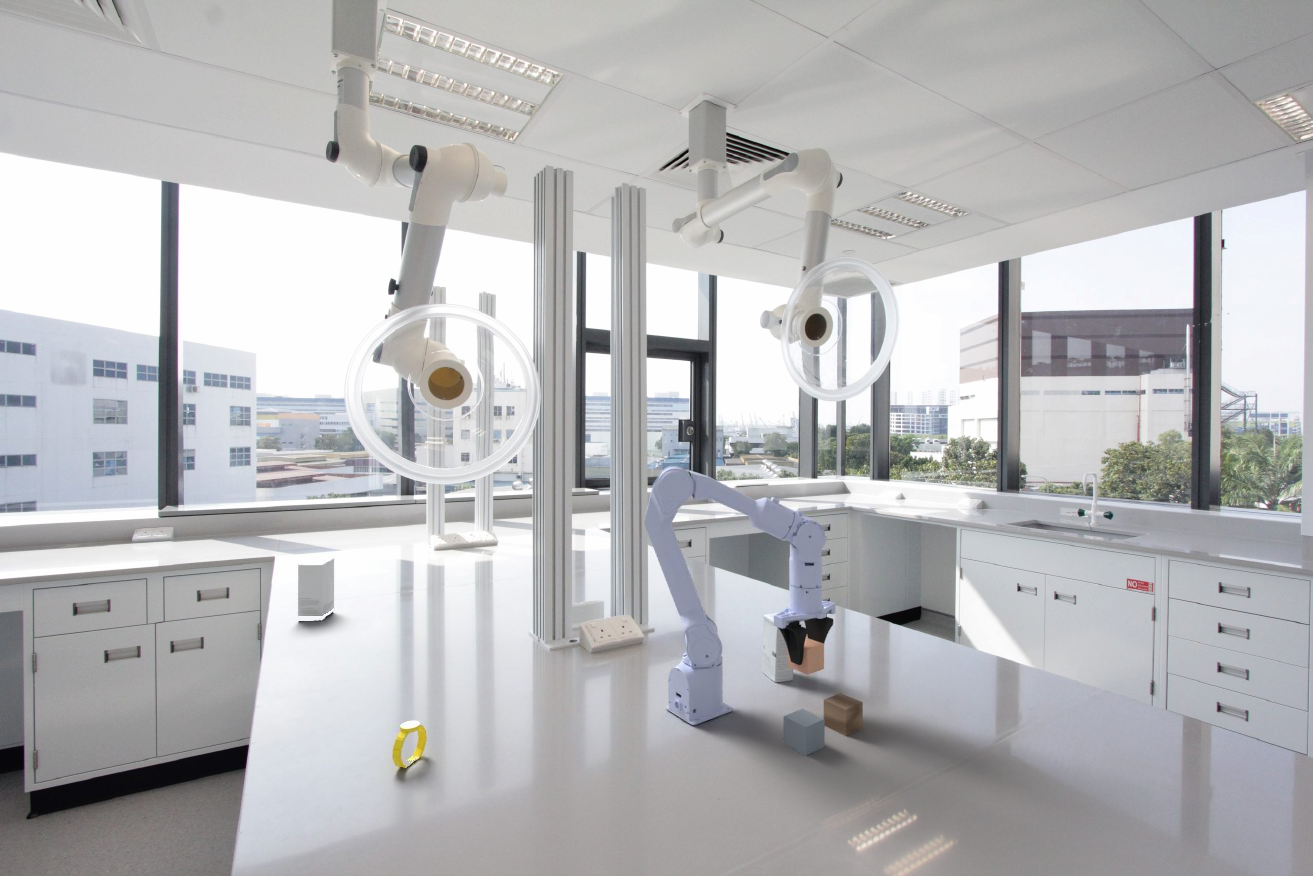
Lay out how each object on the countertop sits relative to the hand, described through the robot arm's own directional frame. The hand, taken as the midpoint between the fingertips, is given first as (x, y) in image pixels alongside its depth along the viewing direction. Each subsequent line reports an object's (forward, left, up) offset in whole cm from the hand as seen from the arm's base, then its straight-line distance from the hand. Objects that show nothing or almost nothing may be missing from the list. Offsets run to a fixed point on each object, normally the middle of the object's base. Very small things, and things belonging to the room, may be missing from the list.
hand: (805, 659), depth 108 cm
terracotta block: (0, 0, -1) cm, 1 cm away
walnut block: (0, -8, -9) cm, 12 cm away
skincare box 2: (+7, +13, -9) cm, 17 cm away
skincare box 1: (-64, +115, -9) cm, 132 cm away
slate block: (-10, -8, -9) cm, 16 cm away
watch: (-62, +24, -9) cm, 67 cm away
